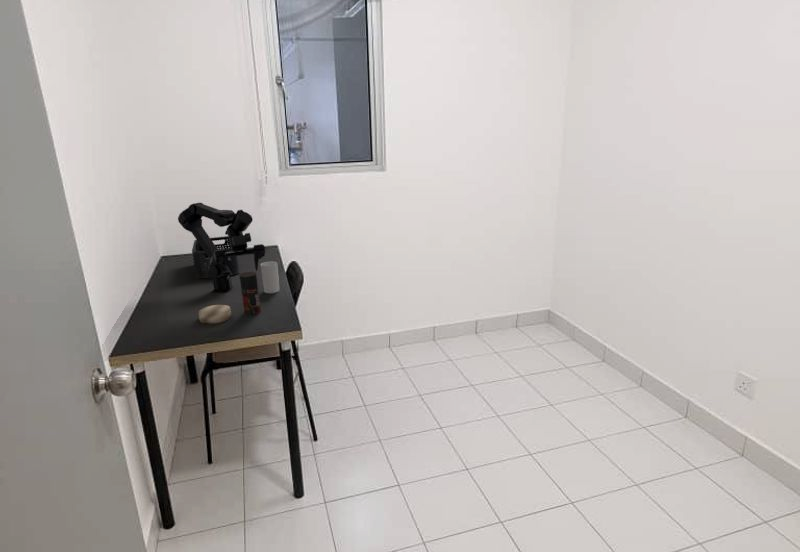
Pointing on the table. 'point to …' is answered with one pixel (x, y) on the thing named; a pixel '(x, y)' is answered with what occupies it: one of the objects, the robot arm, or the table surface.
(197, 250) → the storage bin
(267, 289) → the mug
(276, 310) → the table surface
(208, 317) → the beige round flatbread
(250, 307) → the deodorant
